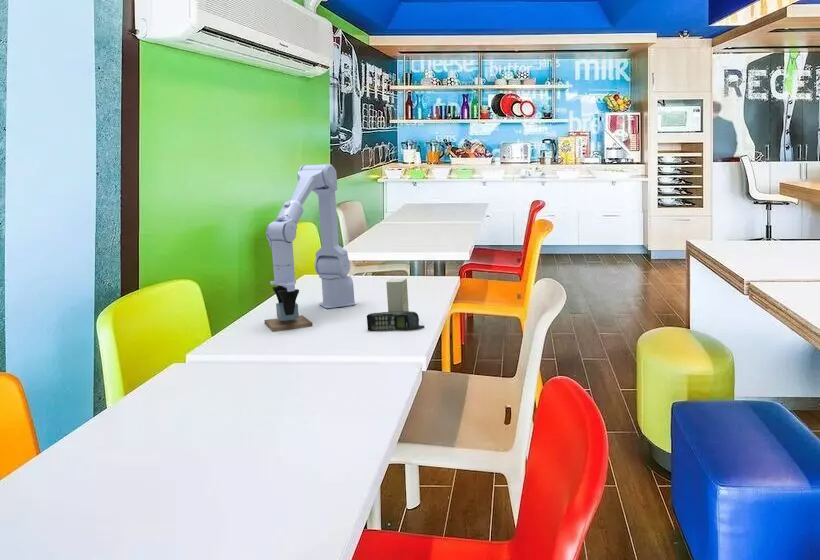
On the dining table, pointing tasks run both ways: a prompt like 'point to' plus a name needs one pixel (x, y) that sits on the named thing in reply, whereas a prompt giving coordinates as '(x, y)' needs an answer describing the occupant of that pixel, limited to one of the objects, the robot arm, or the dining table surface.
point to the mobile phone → (393, 321)
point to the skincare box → (397, 295)
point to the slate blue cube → (283, 316)
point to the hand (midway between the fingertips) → (287, 312)
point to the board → (288, 323)
